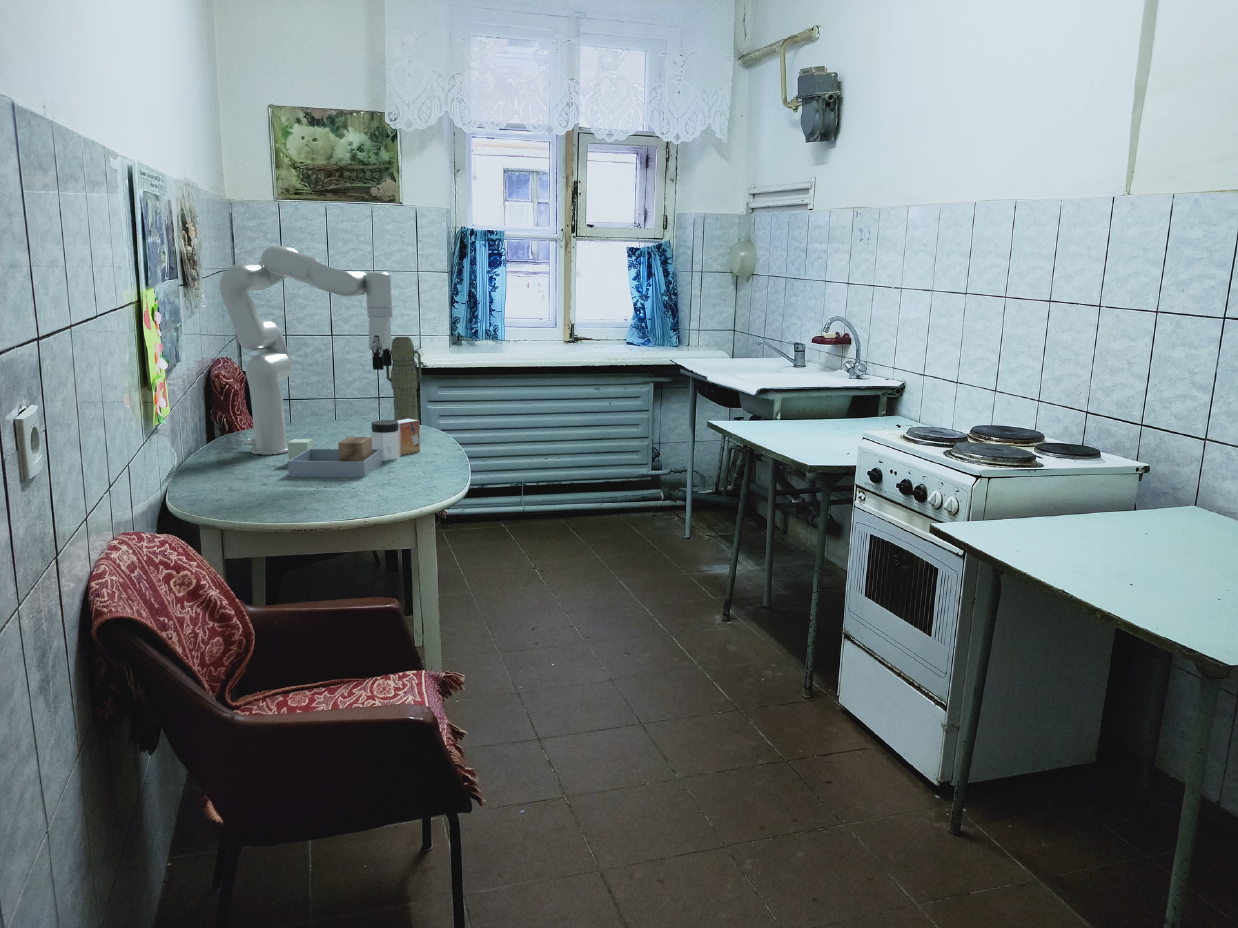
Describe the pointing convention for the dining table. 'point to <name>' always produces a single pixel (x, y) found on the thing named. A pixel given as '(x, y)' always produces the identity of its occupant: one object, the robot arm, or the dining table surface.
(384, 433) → the jar
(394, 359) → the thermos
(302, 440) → the pale green block
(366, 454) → the walnut block
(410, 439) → the small box
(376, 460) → the box
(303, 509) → the dining table surface
